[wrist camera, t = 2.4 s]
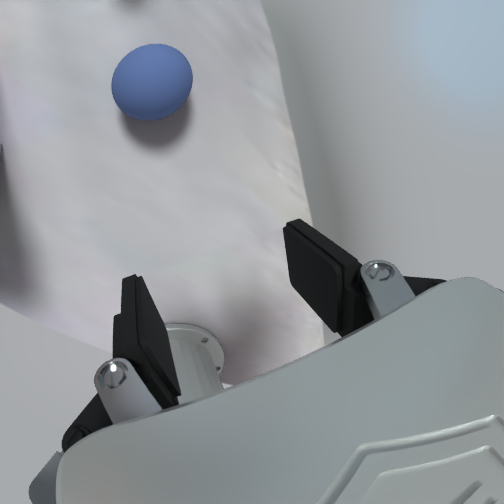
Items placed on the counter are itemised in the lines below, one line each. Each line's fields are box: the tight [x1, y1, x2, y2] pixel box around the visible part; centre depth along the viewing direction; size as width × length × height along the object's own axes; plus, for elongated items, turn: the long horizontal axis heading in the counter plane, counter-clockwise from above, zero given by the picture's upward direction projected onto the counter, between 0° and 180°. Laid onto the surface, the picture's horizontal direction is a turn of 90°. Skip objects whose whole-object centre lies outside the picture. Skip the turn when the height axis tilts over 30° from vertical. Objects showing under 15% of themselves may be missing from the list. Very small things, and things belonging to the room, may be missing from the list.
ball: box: [112, 44, 193, 120], centre depth 17 cm, size 6×6×6 cm
